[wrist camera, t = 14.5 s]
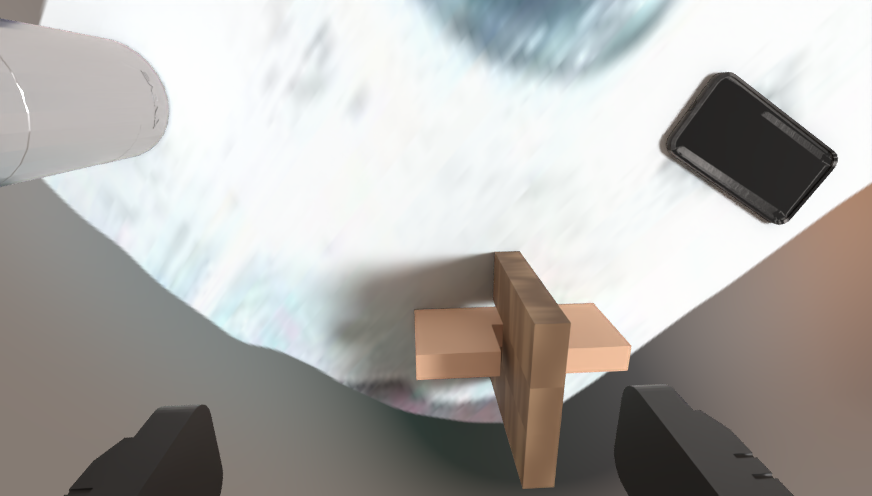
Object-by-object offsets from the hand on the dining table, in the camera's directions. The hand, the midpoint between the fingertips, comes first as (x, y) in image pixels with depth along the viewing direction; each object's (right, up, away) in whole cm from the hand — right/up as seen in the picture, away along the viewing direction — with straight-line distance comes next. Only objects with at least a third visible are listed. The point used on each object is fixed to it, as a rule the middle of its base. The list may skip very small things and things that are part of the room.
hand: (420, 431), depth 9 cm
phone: (+29, +13, +32) cm, 45 cm away
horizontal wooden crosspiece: (+7, -3, +36) cm, 37 cm away
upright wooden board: (+7, -3, +36) cm, 37 cm away
